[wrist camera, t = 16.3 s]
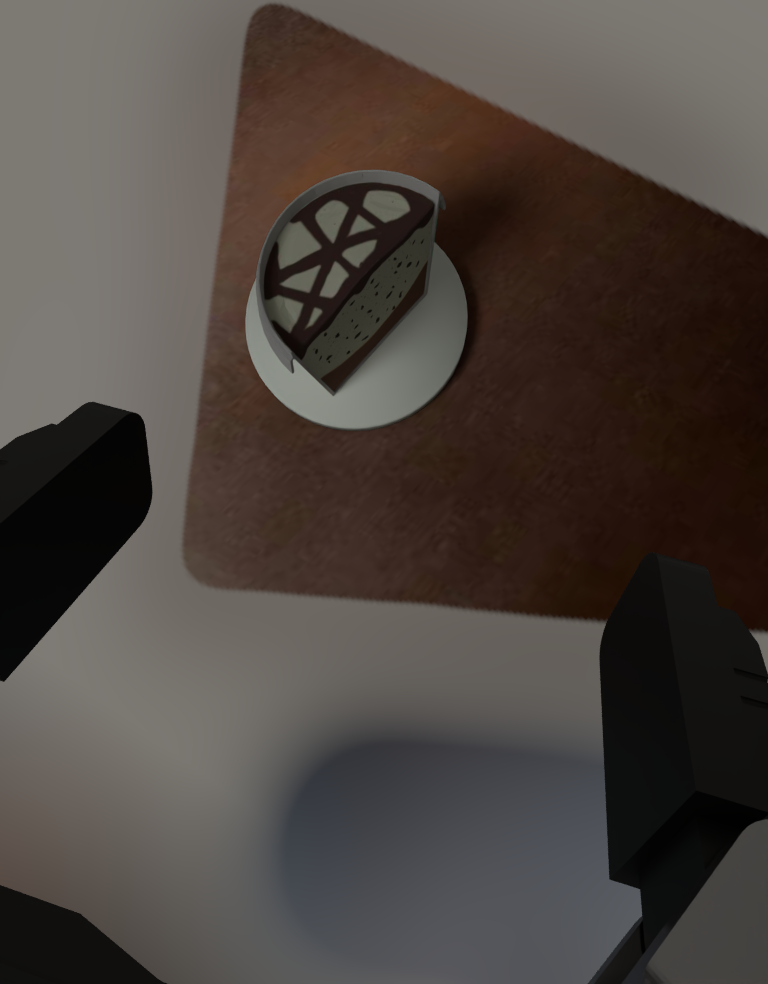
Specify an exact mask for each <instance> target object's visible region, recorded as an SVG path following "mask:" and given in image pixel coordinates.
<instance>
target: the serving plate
mask: <svg viewBox="0 0 768 984" xmlns="http://www.w3.org/2000/svg"><path fill="white" fill-rule="evenodd" d="M467 318H468V314H467V302H466V297H465V293H464V288H463V285H462V283H461V280H460V277H459V275H458V273H457V271H456V269H455V267H454V266H453V264H452V262H451V261H450V259H449V258H448V257H447V255H446V254H445V253H444V251H443V250H442V249H441V248H440V247H439V246H438V245H437V244H436V243H435V242H434V248H433V256H432V263H431V270H430V278H429V285H428V292H427V295H426V296H425V297H424V298H423V299H422V300H421V301H420V303H419V304H418V305H417V306H416V307H415V308H414V309H413V310H412V311H411V312H410V313H409V315H408V316H407V317H406V318H405V319H404V320H403V321H402V322H401V323H400V324H399V325H398V327H397V328H396V329H395V330H394V331H393V332H392V333H391V334H390V335H389V336H388V337H387V339H386V340H385V341H384V342H383V343H382V344H381V345H380V346H379V347H378V348H377V349H376V351H375V352H374V353H373V354H372V355H371V356H370V357H369V358H368V359H367V360H366V361H365V362H364V364H363V365H362V366H361V367H360V368H359V369H358V370H357V371H356V372H355V373H354V374H353V376H352V377H351V378H350V379H349V380H348V381H347V382H346V383H345V384H344V385H343V386H342V388H341V389H340V390H339V391H338V392H337V393H336V394H335V395H334V396H332V395H331V394H330V393H329V392H328V391H327V390H326V389H325V388H324V387H323V386H322V385H321V384H320V383H319V382H318V381H317V380H316V379H315V378H314V377H313V376H312V375H311V374H310V373H309V372H308V371H306V370H305V369H304V368H303V367H302V366H301V365H300V364H299V363H298V362H297V361H296V360H295V359H294V360H293V366H294V373H293V374H292V373H291V372H290V371H289V370H288V369H287V368H286V367H285V366H284V365H283V364H282V363H281V361H280V360H279V359H278V357H277V356H276V354H275V353H274V351H273V350H272V349H271V346H270V344H269V342H268V340H267V338H266V336H265V334H264V331H263V327H262V324H261V320H260V317H259V311H258V305H257V296H256V280H255V282H254V285H253V287H252V290H251V292H250V296H249V300H248V304H247V311H246V337H247V344H248V349H249V352H250V355H251V358H252V361H253V363H254V365H255V368H256V370H257V372H258V374H259V375H260V377H261V378H262V380H263V381H264V383H265V384H266V386H267V387H268V388H269V389H270V390H271V392H272V393H273V394H274V395H275V396H276V397H277V399H278V400H279V401H280V402H282V403H283V404H284V405H285V406H286V407H287V408H288V409H290V410H291V411H293V412H294V413H296V414H297V415H299V416H300V417H302V418H304V419H306V420H308V421H310V422H312V423H314V424H317V425H321V426H324V427H327V428H331V429H337V430H344V431H365V430H373V429H378V428H383V427H387V426H389V425H392V424H395V423H398V422H400V421H402V420H404V419H406V418H409V417H411V416H412V415H414V414H415V413H417V412H418V411H420V410H421V409H423V408H424V407H425V406H426V405H428V404H429V403H430V402H431V401H432V400H433V399H435V397H436V396H437V395H438V394H439V393H440V392H441V391H442V390H443V389H444V387H445V386H446V384H447V383H448V381H449V380H450V378H451V377H452V375H453V373H454V371H455V369H456V367H457V365H458V363H459V360H460V357H461V354H462V352H463V347H464V342H465V337H466V332H467Z"/></svg>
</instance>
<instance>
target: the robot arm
mask: <svg viewBox="0 0 768 984" xmlns="http://www.w3.org/2000/svg"><path fill="white" fill-rule="evenodd" d="M151 500H152V481H151V474H150V465H149V456H148V447H147V439H146V431H145V424H144V421H143V419H142V418H141V416H140V415H139V414H137V413H133V412H129V411H126V410H122V409H118V408H114V407H111V406H107V405H103V404H99V403H96V402H88V403H86V404H84V405H82V406H81V407H80V408H78V409H77V410H76V411H74V412H73V413H72V414H70V415H69V416H68V417H67V418H65V419H64V420H63V421H61V422H60V423H59V424H57V425H55V424H49V425H47V426H44V427H42V428H39V429H37V430H34V431H32V432H29V433H26V434H24V435H21V436H19V437H17V438H15V439H14V440H12V441H11V442H10V443H8V444H7V445H6V446H4V447H3V448H2V449H0V681H3V682H4V681H5V680H6V679H7V678H8V677H9V676H10V674H11V673H12V672H13V671H14V670H15V669H16V668H17V666H18V665H19V664H20V663H21V662H22V661H23V659H24V658H25V657H26V656H27V655H28V654H29V653H30V651H31V650H32V649H33V648H34V647H35V646H36V645H37V644H38V642H39V641H40V640H41V639H42V638H43V637H44V635H45V634H46V633H47V632H48V631H49V630H50V629H51V627H52V626H53V625H54V624H55V623H56V622H57V621H58V619H59V618H60V617H61V616H62V615H63V614H64V613H65V611H66V610H67V609H68V608H69V607H70V606H71V605H72V603H73V602H74V601H75V600H76V599H77V598H78V596H79V595H80V594H81V593H82V592H83V591H84V590H85V588H86V587H87V586H88V585H89V584H90V583H91V582H92V580H93V579H94V578H95V577H96V576H97V575H98V574H99V572H100V571H101V570H102V569H103V568H104V567H105V565H106V564H107V563H108V562H109V561H110V560H111V559H112V558H113V556H114V555H115V554H116V553H117V552H118V551H119V549H120V548H121V547H122V546H123V545H124V544H125V543H126V541H127V540H128V539H129V538H130V537H131V536H132V535H133V533H134V532H135V531H136V530H137V529H138V527H140V525H141V524H142V522H143V521H144V519H145V517H146V515H147V513H148V510H149V507H150V505H151ZM600 681H601V703H602V725H603V747H604V769H605V791H606V813H607V836H608V858H609V879H610V880H613V881H616V882H619V883H623V884H626V885H629V886H632V887H635V888H638V889H640V892H641V905H642V917H640V918H639V919H638V920H637V921H636V922H635V923H634V925H633V926H632V928H631V929H630V930H629V931H628V932H627V934H626V935H625V936H624V938H623V939H622V940H621V942H620V943H619V944H618V945H617V947H616V948H615V949H614V950H613V952H612V953H611V954H610V956H609V957H608V958H607V960H606V961H605V962H604V963H603V965H602V966H601V967H600V969H599V970H598V971H597V972H596V974H595V975H594V976H593V978H592V979H591V980H590V981H589V983H588V984H768V683H767V681H768V674H767V670H766V667H765V664H764V660H763V657H762V654H761V650H760V647H759V644H758V643H757V641H756V640H755V639H754V637H753V636H752V634H751V633H750V632H749V630H748V629H747V627H746V626H745V625H744V623H743V622H742V621H741V619H740V618H739V616H738V615H737V614H736V612H735V611H732V610H729V609H725V608H721V607H718V606H717V602H716V598H715V594H714V590H713V586H712V582H711V578H710V575H709V572H708V570H707V568H705V567H704V566H702V565H698V564H694V563H690V562H687V561H683V560H679V559H675V558H672V557H668V556H664V555H660V554H657V553H653V552H651V553H648V554H647V555H646V556H645V557H644V558H643V560H642V561H641V563H640V564H639V566H638V568H637V570H636V571H635V573H634V575H633V577H632V578H631V580H630V582H629V584H628V585H627V587H626V589H625V591H624V592H623V594H622V596H621V598H620V599H619V601H618V603H617V604H616V606H615V608H614V610H613V611H612V613H611V615H610V617H609V619H608V621H607V623H606V626H605V629H604V632H603V636H602V640H601V645H600ZM0 984H167V983H164V982H162V981H160V980H159V979H157V978H156V977H155V976H154V975H152V974H151V973H150V972H149V971H148V970H146V969H145V968H144V967H143V966H142V965H141V964H139V963H138V962H137V961H136V960H135V959H133V958H132V957H131V956H130V955H129V954H127V953H126V952H125V951H124V950H123V949H122V948H120V947H119V946H118V945H117V944H115V943H114V942H113V941H112V940H111V939H110V938H108V937H107V936H106V935H105V934H104V933H102V932H101V931H100V930H99V929H98V928H97V927H95V926H94V925H93V924H92V923H91V922H89V921H88V920H87V919H86V918H85V917H83V916H82V915H81V914H79V913H77V912H74V911H71V910H68V909H65V908H62V907H59V906H57V905H54V904H51V903H48V902H46V901H43V900H40V899H37V898H35V897H32V896H29V895H26V894H23V893H21V892H18V891H15V890H12V889H9V888H7V887H4V886H1V885H0Z"/></svg>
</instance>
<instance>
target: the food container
mask: <svg viewBox="0 0 768 984" xmlns="http://www.w3.org/2000/svg"><path fill="white" fill-rule="evenodd" d="M439 207H440V208H441V209H443V210H445V209H446V206H445V201H444V197H443V196H442V195H441V194H440V192H439V191H438V190H436V189H435V188H433V187H432V186H430V185H429V184H427V183H425V182H423V181H421V180H418V179H416V178H414V177H412V176H408V175H405V174H401V173H397V172H392V171H384V170H360V171H354V172H348V173H344V174H340V175H337V176H334V177H331V178H328V179H326V180H324V181H322V182H320V183H318V184H316V185H314V186H312V187H311V188H309V189H308V190H306V191H305V192H303V193H302V194H300V195H299V196H298V197H297V198H296V199H295V200H294V201H292V202H291V203H290V204H289V205H288V206H287V207H286V208H285V210H284V211H283V212H282V213H281V215H280V216H279V217H278V218H277V219H276V221H275V223H274V225H273V226H272V228H271V230H270V231H269V233H268V235H267V238H266V240H265V243H264V245H263V248H262V251H261V253H260V257H259V262H258V266H257V272H256V296H257V305H258V311H259V317H260V320H261V324H262V327H263V331H264V334H265V336H266V338H267V340H268V342H269V344H270V346H271V349H272V350H273V351H274V353H275V354H276V356H277V357H278V359H279V360H280V361H281V363H282V364H283V365H284V366H285V367H286V368H287V369H288V370H289V371H290V372H291V373H292V374H293V373H294V366H293V360H294V359H295V360H296V361H297V362H298V363H299V364H300V365H301V366H302V367H303V368H304V369H305V370H306V371H308V372H309V373H310V374H311V375H312V376H313V377H314V378H315V379H316V380H317V381H318V382H319V383H320V384H321V385H322V386H323V387H324V388H325V389H326V390H327V391H328V392H329V393H330V394H331V395H332V396H334V395H335V394H336V393H337V392H338V391H339V390H340V389H341V388H342V386H343V385H344V384H345V383H346V382H347V381H348V380H349V379H350V378H351V377H352V376H353V374H354V373H355V372H356V371H357V370H358V369H359V368H360V367H361V366H362V365H363V364H364V362H365V361H366V360H367V359H368V358H369V357H370V356H371V355H372V354H373V353H374V352H375V351H376V349H377V348H378V347H379V346H380V345H381V344H382V343H383V342H384V341H385V340H386V339H387V337H388V336H389V335H390V334H391V333H392V332H393V331H394V330H395V329H396V328H397V327H398V325H399V324H400V323H401V322H402V321H403V320H404V319H405V318H406V317H407V316H408V315H409V313H410V312H411V311H412V310H413V309H414V308H415V307H416V306H417V305H418V304H419V303H420V301H421V300H422V299H423V298H424V297H425V296H426V295H427V292H428V285H429V278H430V270H431V263H432V256H433V248H434V241H435V234H436V226H437V219H438V212H439Z"/></svg>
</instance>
